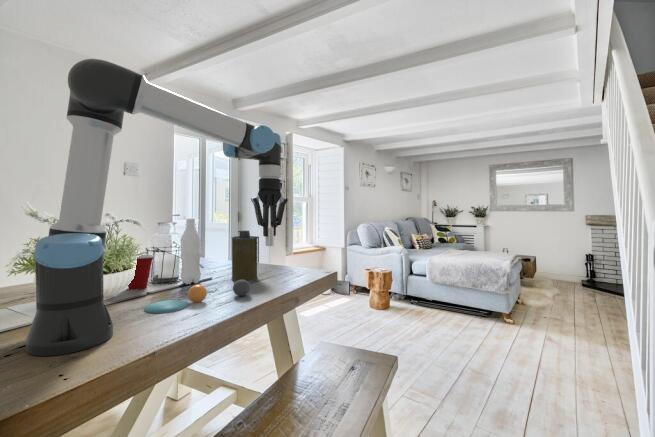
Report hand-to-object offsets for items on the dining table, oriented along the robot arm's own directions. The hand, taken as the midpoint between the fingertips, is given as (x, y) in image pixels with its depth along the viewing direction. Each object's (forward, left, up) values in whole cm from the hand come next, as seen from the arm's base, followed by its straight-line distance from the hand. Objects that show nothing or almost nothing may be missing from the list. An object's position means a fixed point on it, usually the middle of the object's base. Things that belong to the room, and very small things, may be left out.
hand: (269, 245), depth 113 cm
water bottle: (+1, +34, -17) cm, 38 cm away
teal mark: (-25, +21, -16) cm, 36 cm away
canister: (+14, +18, -17) cm, 29 cm away
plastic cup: (-11, +47, -17) cm, 51 cm away
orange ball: (-18, +15, -14) cm, 28 cm away
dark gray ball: (-8, +6, -14) cm, 17 cm away
